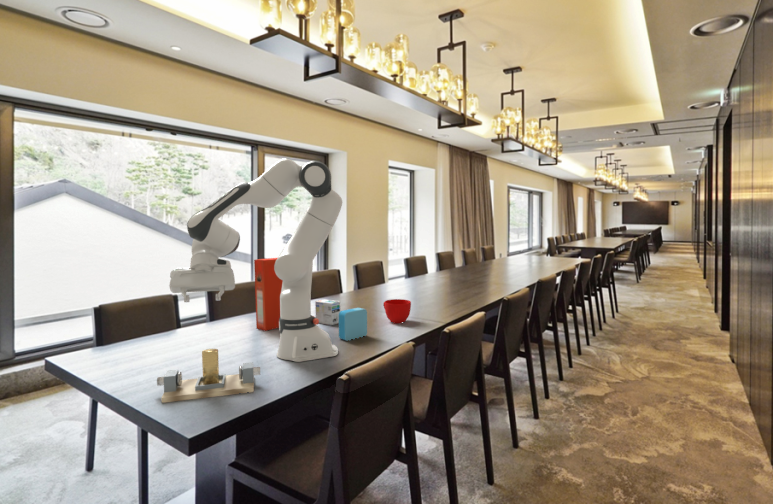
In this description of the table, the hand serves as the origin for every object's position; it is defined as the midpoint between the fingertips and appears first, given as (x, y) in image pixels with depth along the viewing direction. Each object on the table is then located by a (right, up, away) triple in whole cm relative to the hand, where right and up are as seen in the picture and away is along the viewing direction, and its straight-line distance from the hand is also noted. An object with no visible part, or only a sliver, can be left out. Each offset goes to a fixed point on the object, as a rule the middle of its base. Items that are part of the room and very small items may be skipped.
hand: (202, 300), depth 137 cm
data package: (+46, -21, +40) cm, 65 cm away
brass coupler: (+8, -23, -13) cm, 28 cm away
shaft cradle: (+8, -25, -13) cm, 29 cm away
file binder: (+9, -19, +60) cm, 64 cm away
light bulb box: (+32, -19, +66) cm, 76 cm away
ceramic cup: (+65, -18, +69) cm, 96 cm away
